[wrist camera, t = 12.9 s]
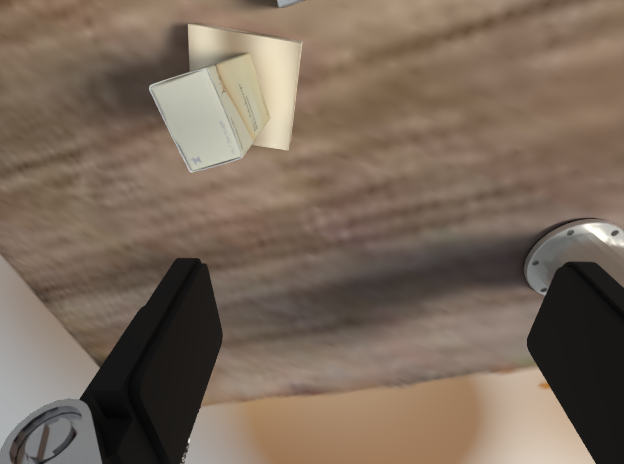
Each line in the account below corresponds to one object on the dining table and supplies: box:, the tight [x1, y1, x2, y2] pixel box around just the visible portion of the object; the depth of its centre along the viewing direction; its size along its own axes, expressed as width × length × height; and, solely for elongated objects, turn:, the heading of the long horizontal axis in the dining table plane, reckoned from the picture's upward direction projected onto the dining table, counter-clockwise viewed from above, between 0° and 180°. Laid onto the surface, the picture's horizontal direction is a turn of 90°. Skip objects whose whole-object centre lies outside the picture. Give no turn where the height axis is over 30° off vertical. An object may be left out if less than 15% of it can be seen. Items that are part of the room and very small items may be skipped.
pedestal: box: [188, 23, 302, 150], centre depth 35 cm, size 10×10×4 cm
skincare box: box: [149, 53, 271, 173], centre depth 28 cm, size 6×4×12 cm
